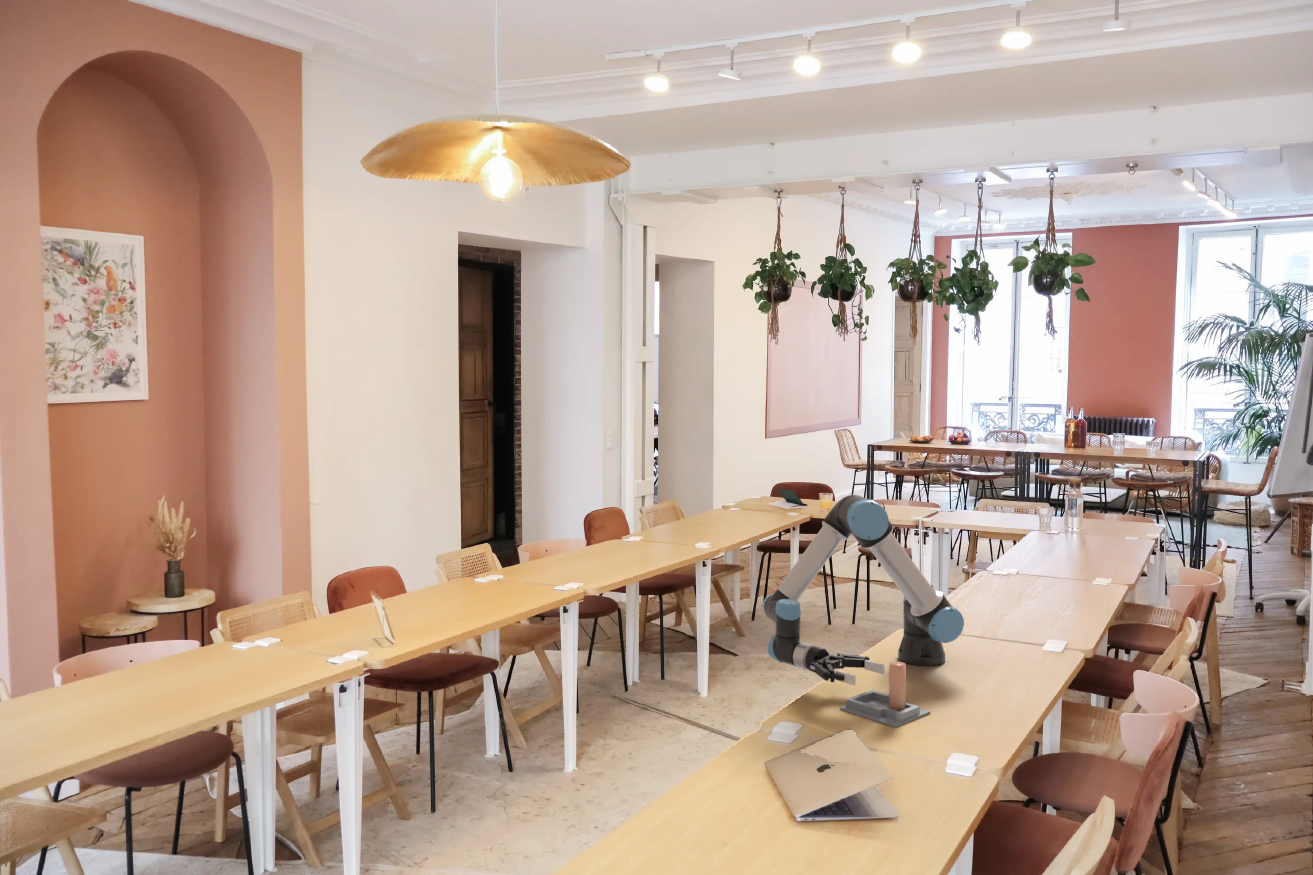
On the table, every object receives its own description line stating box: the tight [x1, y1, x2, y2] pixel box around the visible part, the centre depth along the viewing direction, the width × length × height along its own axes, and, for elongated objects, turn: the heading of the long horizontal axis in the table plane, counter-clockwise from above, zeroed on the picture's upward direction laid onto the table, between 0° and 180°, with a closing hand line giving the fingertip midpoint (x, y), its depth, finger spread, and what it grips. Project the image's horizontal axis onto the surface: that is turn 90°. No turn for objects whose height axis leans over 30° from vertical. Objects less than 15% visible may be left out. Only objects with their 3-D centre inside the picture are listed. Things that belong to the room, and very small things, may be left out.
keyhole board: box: [839, 689, 931, 728], centre depth 276 cm, size 16×19×3 cm
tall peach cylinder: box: [888, 661, 907, 711], centre depth 272 cm, size 4×4×14 cm
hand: (869, 674), depth 280 cm, fingers open, 13 cm apart
